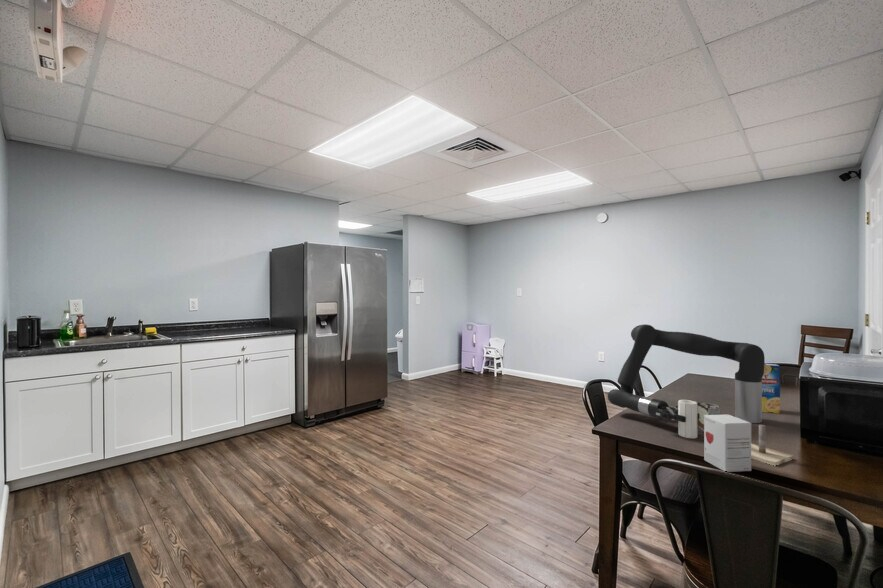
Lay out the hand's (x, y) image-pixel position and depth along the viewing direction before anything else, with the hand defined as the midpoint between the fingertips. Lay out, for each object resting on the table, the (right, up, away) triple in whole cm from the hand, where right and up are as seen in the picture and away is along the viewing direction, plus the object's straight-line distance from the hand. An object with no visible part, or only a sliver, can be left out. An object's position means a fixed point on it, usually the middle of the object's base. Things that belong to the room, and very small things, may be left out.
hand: (692, 418), depth 149 cm
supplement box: (-5, -7, -25) cm, 27 cm away
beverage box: (+56, -8, +35) cm, 67 cm away
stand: (+12, -7, -18) cm, 23 cm away
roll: (-1, -7, +2) cm, 7 cm away
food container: (+13, -8, +8) cm, 17 cm away
